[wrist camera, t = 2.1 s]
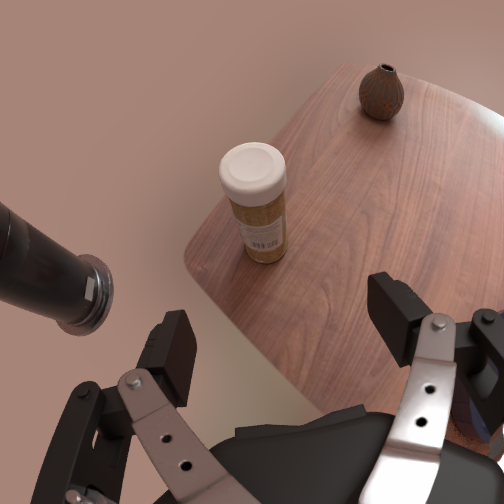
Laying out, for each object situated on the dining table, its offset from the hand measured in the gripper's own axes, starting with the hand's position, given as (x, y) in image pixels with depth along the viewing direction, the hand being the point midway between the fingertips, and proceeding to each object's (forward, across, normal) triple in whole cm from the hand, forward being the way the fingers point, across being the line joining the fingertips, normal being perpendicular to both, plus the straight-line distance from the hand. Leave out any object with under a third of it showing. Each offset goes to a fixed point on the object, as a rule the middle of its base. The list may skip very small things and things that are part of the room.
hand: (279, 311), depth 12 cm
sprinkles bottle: (+19, 0, +4) cm, 19 cm away
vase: (+32, -21, -9) cm, 40 cm away
